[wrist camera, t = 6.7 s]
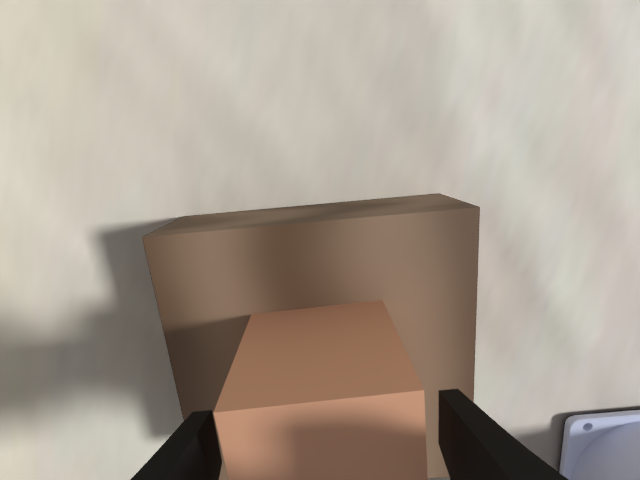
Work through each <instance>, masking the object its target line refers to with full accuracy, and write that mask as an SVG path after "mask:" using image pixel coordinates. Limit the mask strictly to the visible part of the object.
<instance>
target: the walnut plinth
mask: <svg viewBox="0 0 640 480" xmlns="http://www.w3.org/2000/svg"><path fill="white" fill-rule="evenodd" d="M479 216H480V207H478V206H475V205H472V204H469V203H466V202H463V201H460V200H457V199H454V198H451V197H448V196H445V195H442V194H428V195H417V196H406V197H395V198H384V199H373V200H361V201H350V202H339V203H328V204H317V205H306V206H294V207H283V208H272V209H261V210H250V211H238V212H227V213H216V214H205V215H194V216H184V217H182V218H180V219H178V220H176V221H174V222H172V223H170V224H168V225H166V226H164V227H162V228H160V229H158V230H156V231H154V232H152V233H150V234H148V235H146V236H144V237H142V238H143V243H144V247H145V252H146V256H147V260H148V265H149V269H150V274H151V278H152V282H153V287H154V291H155V296H156V300H157V304H158V309H159V313H160V318H161V322H162V326H163V331H164V335H165V340H166V344H167V348H168V353H169V357H170V361H171V366H172V370H173V375H174V379H175V383H176V388H177V392H178V397H179V401H180V405H181V410H182V414H183V419H184V421H185V420H186V418H187V417H188V416H189V415H190V414H191V413H192V412H194V411H206V410H212V413H213V412H214V410H215V407H216V404H217V402H218V399H219V397H220V394H221V392H222V389H223V386H224V384H225V381H226V379H227V376H228V373H229V371H230V368H231V366H232V363H233V360H234V358H235V355H236V353H237V350H238V347H239V345H240V342H241V340H242V337H243V334H244V332H245V329H246V327H247V324H248V322H249V319H250V316H251V314H259V313H268V312H277V311H286V310H295V309H305V308H314V307H323V306H332V305H341V304H350V303H359V302H368V301H377V300H383V302H384V304H385V306H386V309H387V311H388V313H389V315H390V317H391V319H392V322H393V324H394V326H395V328H396V330H397V332H398V335H399V337H400V339H401V341H402V343H403V345H404V348H405V350H406V352H407V354H408V356H409V358H410V360H411V363H412V365H413V367H414V369H415V371H416V373H417V376H418V378H419V380H420V382H421V384H422V386H423V389H424V397H425V423H426V448H427V474H428V479H429V478H441V477H450V476H449V473H448V470H447V467H446V465H445V462H444V459H443V456H442V453H441V450H440V446H439V443H438V421H439V390H449V389H459V390H460V391H461V392H462V393H463V394H464V395H466V396H467V397H468V398H469V399H470V400H471V401H472V402H473V399H474V369H475V338H476V308H477V277H478V247H479ZM213 418H214V414H213ZM214 423H215V428H216V433H217V438H218V443H219V448H220V453H221V458H222V466H221V471H220V476H219V480H229V479H228V475H227V470H226V466H225V461H224V457H223V453H222V448H221V444H220V440H219V435H218V431H217V427H216V422H215V418H214Z"/></svg>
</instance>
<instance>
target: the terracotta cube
mask: <svg viewBox="0 0 640 480" xmlns="http://www.w3.org/2000/svg"><path fill="white" fill-rule="evenodd" d="M213 414H214V418H215V422H216V427H217V431H218V435H219V440H220V444H221V448H222V453H223V457H224V461H225V466H226V470H227V475H228V479H229V480H428V474H427V448H426V423H425V397H424V389H423V386H422V384H421V382H420V380H419V378H418V376H417V373H416V371H415V369H414V367H413V365H412V363H411V360H410V358H409V356H408V354H407V352H406V350H405V348H404V345H403V343H402V341H401V339H400V337H399V335H398V332H397V330H396V328H395V326H394V324H393V322H392V319H391V317H390V315H389V313H388V311H387V309H386V306H385V304H384V302H383V300H377V301H368V302H359V303H350V304H341V305H332V306H323V307H314V308H305V309H295V310H286V311H277V312H268V313H259V314H251V316H250V319H249V322H248V324H247V327H246V329H245V332H244V334H243V337H242V340H241V342H240V345H239V347H238V350H237V353H236V355H235V358H234V360H233V363H232V366H231V368H230V371H229V373H228V376H227V379H226V381H225V384H224V386H223V389H222V392H221V394H220V397H219V399H218V402H217V404H216V407H215V410H214V412H213Z"/></svg>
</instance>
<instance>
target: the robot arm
mask: <svg viewBox="0 0 640 480" xmlns="http://www.w3.org/2000/svg"><path fill="white" fill-rule="evenodd" d="M438 443H439V446H440V450H441V453H442V456H443V459H444V462H445V465H446V467H447V470H448V473H449V476H450V479H451V480H640V410H631V411H620V412H608V413H596V414H585V415H574V416H570V417H569V418H568V419H567V420H566V422H565V428H564V437H563V445H562V454H561V463H560V471H559V472H557V471H556V470H555V469H553V468H552V467H551V466H549V465H548V464H547V463H545V462H544V461H543V460H541V459H540V458H539V457H538V456H536V455H535V454H534V453H532V452H531V451H530V450H528V449H527V448H526V447H525V446H523V445H522V444H521V443H520V442H519V441H517V440H516V439H515V438H514V437H513V436H511V435H510V434H509V433H508V432H507V431H505V430H504V429H503V428H502V427H501V426H500V425H498V424H497V423H496V422H495V421H494V420H493V419H491V418H490V417H489V416H488V415H487V414H486V413H485V412H484V411H482V410H481V409H480V408H479V407H478V406H477V405H476V404H475V403H473V402H472V401H471V400H470V399H469V398H468V397H467V396H466V395H464V394H463V393H462V392H461V391H460V390H459V389H449V390H439V421H438ZM221 466H222V458H221V453H220V448H219V443H218V438H217V433H216V428H215V423H214V418H213V413H212V410H206V411H194V412H192V413H191V414H190V415H189V416H188V417H187V418H186V420H185V421H184V422H183V423H182V424H181V425H180V426H179V427H178V428H177V430H176V431H175V432H174V433H173V434H172V435H171V436H170V437H169V439H168V440H167V441H166V442H165V443H164V444H163V445H162V446H161V448H160V449H159V450H158V451H157V452H156V453H155V454H154V455H153V456H152V457H151V458H150V460H149V461H148V462H147V463H146V464H145V465H144V466H143V467H142V468H141V469H140V470H139V471H138V473H137V474H136V475H135V476H134V477H133V478H132V479H131V480H219V476H220V471H221Z"/></svg>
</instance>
